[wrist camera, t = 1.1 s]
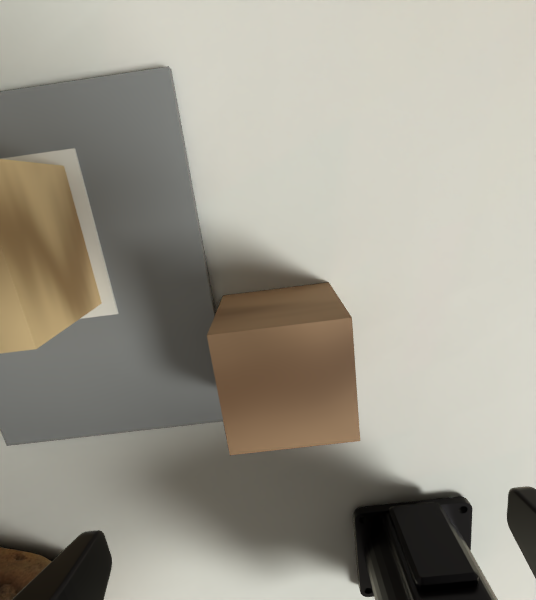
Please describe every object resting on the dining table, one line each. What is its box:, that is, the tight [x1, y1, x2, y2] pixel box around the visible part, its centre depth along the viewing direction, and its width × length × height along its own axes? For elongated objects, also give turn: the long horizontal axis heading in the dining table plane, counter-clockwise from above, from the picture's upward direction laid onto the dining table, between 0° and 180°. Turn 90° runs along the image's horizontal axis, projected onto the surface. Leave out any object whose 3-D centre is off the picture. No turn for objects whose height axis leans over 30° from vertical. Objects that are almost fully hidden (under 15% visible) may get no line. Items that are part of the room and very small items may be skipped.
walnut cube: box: [207, 282, 360, 455], centre depth 16 cm, size 5×5×5 cm
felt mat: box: [0, 66, 223, 446], centre depth 17 cm, size 16×12×1 cm
